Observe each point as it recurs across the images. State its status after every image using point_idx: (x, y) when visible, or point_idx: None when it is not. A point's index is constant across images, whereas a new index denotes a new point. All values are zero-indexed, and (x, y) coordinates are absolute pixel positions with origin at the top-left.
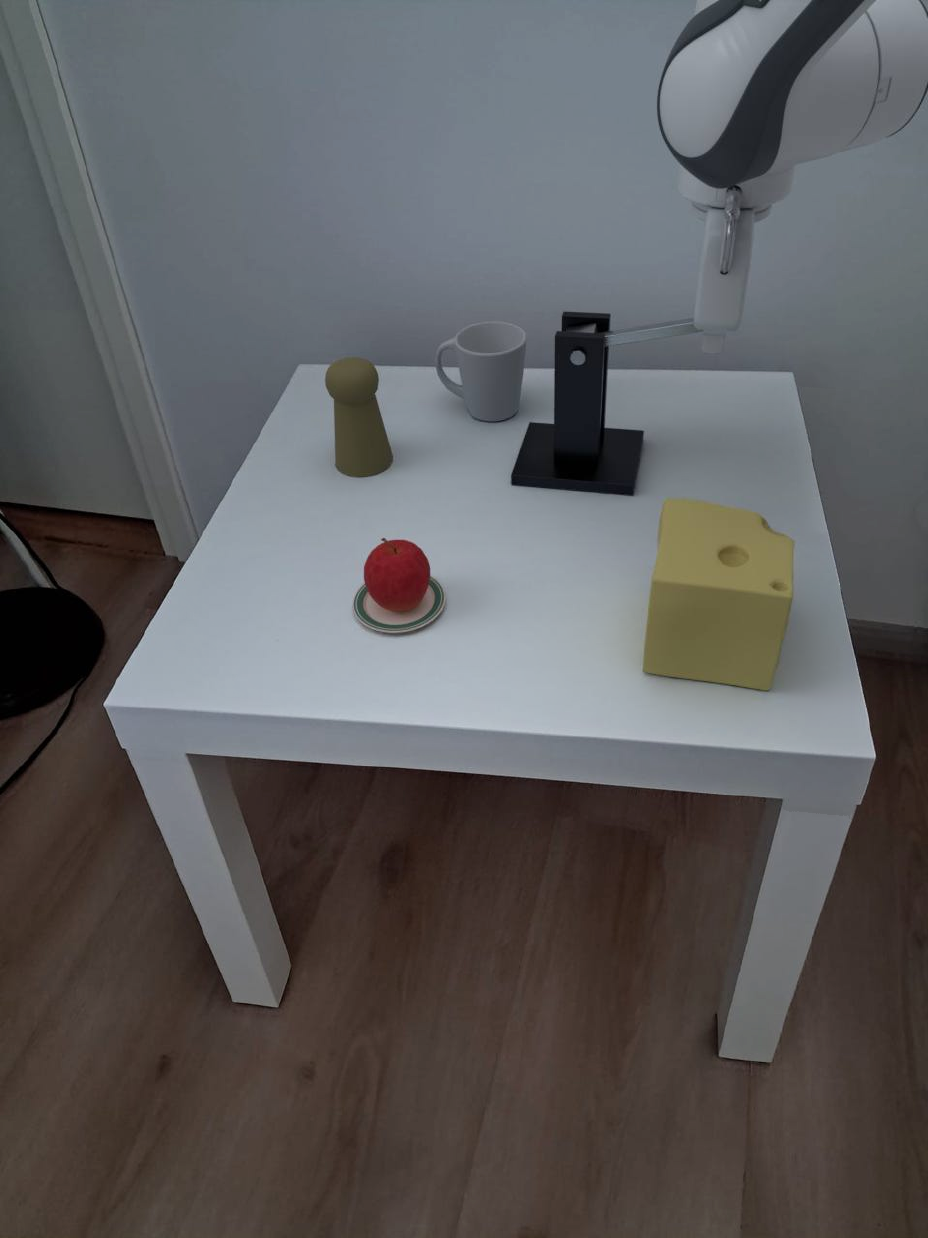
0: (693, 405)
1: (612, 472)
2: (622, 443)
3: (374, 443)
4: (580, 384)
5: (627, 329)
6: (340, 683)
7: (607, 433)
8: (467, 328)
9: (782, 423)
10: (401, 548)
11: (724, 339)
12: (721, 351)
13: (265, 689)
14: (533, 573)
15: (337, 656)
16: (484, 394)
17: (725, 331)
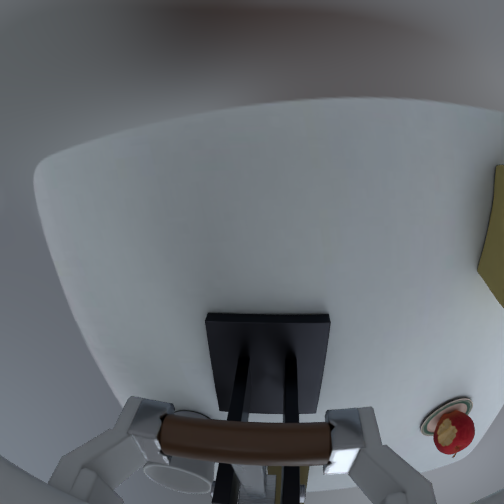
0: (114, 260)
1: (305, 344)
2: (240, 340)
3: (300, 480)
4: None
5: (251, 491)
6: (489, 409)
7: (222, 355)
8: (167, 486)
9: (124, 145)
10: (455, 446)
11: (379, 433)
12: (371, 408)
13: (481, 429)
14: (436, 365)
15: (473, 419)
16: None
17: (398, 456)
